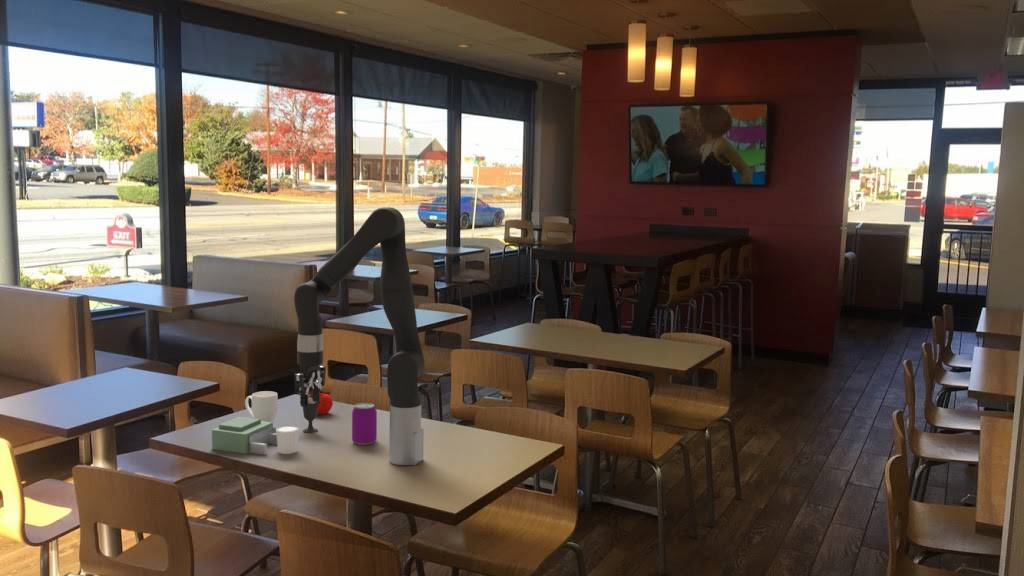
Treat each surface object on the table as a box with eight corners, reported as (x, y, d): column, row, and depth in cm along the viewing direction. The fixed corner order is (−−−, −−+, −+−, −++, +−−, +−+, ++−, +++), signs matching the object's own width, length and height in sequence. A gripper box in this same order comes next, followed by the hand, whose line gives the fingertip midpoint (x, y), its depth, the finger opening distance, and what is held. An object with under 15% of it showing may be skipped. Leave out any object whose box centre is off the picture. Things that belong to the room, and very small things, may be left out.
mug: (283, 425, 280) (282, 392, 279) (266, 432, 272) (266, 398, 271) (254, 421, 285) (254, 388, 283) (237, 427, 277) (237, 393, 276)
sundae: (315, 434, 271) (315, 389, 269) (296, 432, 272) (296, 388, 271) (324, 429, 277) (324, 385, 276) (305, 427, 279) (305, 383, 277)
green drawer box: (272, 440, 263) (272, 418, 262) (245, 453, 250) (245, 430, 249) (240, 436, 267) (240, 414, 266) (212, 448, 254) (211, 425, 253)
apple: (306, 415, 293) (306, 395, 292) (315, 410, 301) (315, 390, 300) (327, 417, 292) (327, 396, 291) (336, 411, 299) (336, 391, 299)
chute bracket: (286, 444, 260) (286, 428, 260) (264, 454, 249) (264, 438, 249) (270, 441, 262) (270, 426, 261) (248, 452, 251) (247, 436, 251)
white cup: (287, 456, 249) (286, 433, 248) (271, 451, 252) (270, 429, 252) (304, 450, 255) (303, 428, 254) (288, 446, 258) (288, 424, 257)
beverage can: (367, 437, 270) (367, 400, 268) (381, 442, 264) (381, 405, 263) (347, 441, 264) (347, 404, 263) (361, 447, 259) (361, 409, 258)
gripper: (308, 354, 239) (308, 411, 241) (333, 345, 253) (333, 399, 255) (285, 352, 242) (286, 408, 244) (312, 343, 255) (312, 397, 257)
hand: (310, 403), depth 249 cm, fingers open, 6 cm apart
